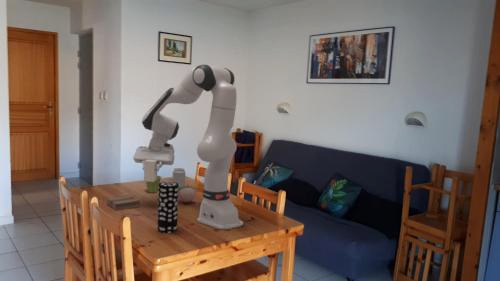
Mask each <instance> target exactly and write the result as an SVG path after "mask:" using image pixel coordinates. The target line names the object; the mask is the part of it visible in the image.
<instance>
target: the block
mask: <svg viewBox="0 0 500 281" xmlns="http://www.w3.org/2000/svg"><path fill="white" fill-rule="evenodd" d="M158 165H159V164H158V161H157V160H146V161H144V170H143V181H144V182H146V181H149V182H154V181H156V180H157V176H158V171H155V168H156V166H158Z"/></svg>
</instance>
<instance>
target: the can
mask: <svg viewBox="0 0 500 281" xmlns="http://www.w3.org/2000/svg"><path fill="white" fill-rule="evenodd" d="M171 182H175V183H178V184H179V188H180V187H182V186H186V171H185V168H181V167H177V168H173V171H172V181H171ZM179 188H178V190H180V189H181V188H180V189H179Z"/></svg>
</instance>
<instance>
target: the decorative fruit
mask: <svg viewBox="0 0 500 281" xmlns="http://www.w3.org/2000/svg"><path fill="white" fill-rule="evenodd" d="M180 188H181V189H180ZM180 188H179V189H178V199H180V200H181V201H182V202H184V203H185V204H188V203H190V202H192V201H194V199H195V198H196V196H197V192H196V190H197V188H196V187H195V186H189V184H187V186H186V185H185V186H182V187H180Z"/></svg>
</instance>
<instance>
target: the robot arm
mask: <svg viewBox="0 0 500 281" xmlns="http://www.w3.org/2000/svg"><path fill="white" fill-rule="evenodd" d="M234 84H235V74H234V72H233V71H232V70H230V69H229V68H226V67H221V66H218V65H213V64H212V65H211V64H200V65H197V66H193V67H192V68H191V69H190V70H188V72H187V73H186V74H185V76H184V77H183V79H182V81H180V84H177V86H175V87H170V88H169V89H167V90H166V91H165V92H164V93H163V94H162V95H161V97H160V98H159V99H158V100H157V101H156V102H155V104H153V106H152V107H150V108H149V110H148V111H146V113H144V115H143V117H142V120H141V124H142V126H143V127H144V129H146V130H149V131H151V132H152V133H151V135H152V136H151V139H150V140H149V144H148V145H147V146H138V147H137V148H136V150H135V152H134V155H133V160H134V163H136V164H139V163H140V164H142V167H141V168H142V171H144V161H146V160H157V161H158V166H156V168H155V171H157V172H159V171H160V169H161V168H162V167H163V166H172V165H174V163H175V149H174V148H175V147H174V146H173V144H171V143H168V141H171V140H173V139H174V138H176V137H177V135H178V132H179V129H180V125H179V122H178V121H177V120H175V119H173V118H172V117H169V116H166V115H164V114H162V113H161V112H162V111H163V109H165V107H166V106H167V105H170V104H181V105H191V104H194V103H195V102H197V100H199V98H200V97H201V95H202V93H203V92H204V91H205V92H211V94H212V101H211V102H212V103H211V109H210V113H209V114H210V115H209V121H208V125H207V127H206V131H205V133H204V135H203V138H202V140H200V142H199V143H198V145H197V148H196V153H197V156H198V158H199V159H200V160H201V161H203V162H205V163H208V165H207V168H206V169H205V171H204V177H203V178H204V182H203V189H202V197H203V198H202V201H201V203H200V207H199V208H200V209H199V215H198V217H197V218H196V222H199V223H200V224H203V225H206V226H209V227H212V228H215V229H218V230H229V229H235V228H239V227H242V226H243V225H244V222H243V221H242V220H241V219H240V218H239V211H238V208H237V207H236V206H235V205H234V204H233V202H232V201H231V199H230V196H231V193H230V191H229V187H228V186H229V174H230V169H231V168H230V167H231V165H232V162H233V156H234V155H235V153H236V151H237V149H238V148H237V142H236V140H235V139H234V138H233V137H231V136H229V133H230V132H231V130H232V128H233V127H234V123H235V115H236V109H237V100H238V99H237V98H238V97H237V94H238V93H237V88H236V86H234Z"/></svg>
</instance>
